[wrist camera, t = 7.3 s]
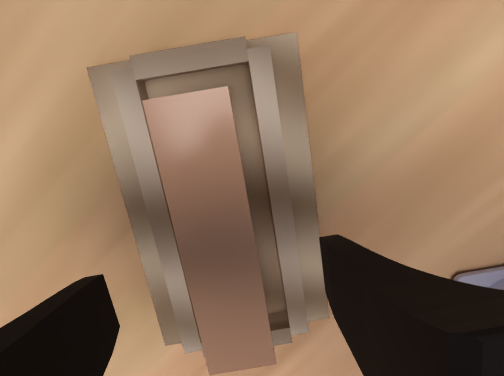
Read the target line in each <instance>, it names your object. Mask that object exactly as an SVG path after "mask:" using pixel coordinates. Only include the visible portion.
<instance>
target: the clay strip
mask: <svg viewBox="0 0 504 376" xmlns="http://www.w3.org/2000/svg"><path fill="white" fill-rule="evenodd" d="M142 102H143V106H144V110H145V114H146V118H147V122H148V126H149V130H150V135H151V139H152V143H153V147H154V151H155V155H156V159H157V163H158V167H159V171H160V175H161V179H162V183H163V187H164V191H165V196H166V200H167V204H168V208H169V212H170V216H171V220H172V224H173V228H174V232H175V236H176V240H177V244H178V248H179V252H180V257H181V261H182V265H183V269H184V273H185V277H186V281H187V285H188V289H189V293H190V297H191V301H192V305H193V309H194V313H195V318H196V322H197V326H198V330H199V334H200V338H201V342H202V346H203V350H204V354H205V358H206V362H207V366H208V370H209V374H210V375H214V374H220V373H226V372H232V371H238V370H244V369H250V368H256V367H262V366H268V365H273V364H276V359H275V352H274V346H273V339H272V332H271V326H270V319H269V312H268V305H267V299H266V293H265V287H264V281H263V276H262V270H261V264H260V258H259V252H258V247H257V241H256V235H255V229H254V223H253V218H252V212H251V206H250V200H249V195H248V189H247V183H246V177H245V171H244V166H243V160H242V154H241V148H240V142H239V137H238V131H237V125H236V119H235V113H234V108H233V102H232V96H231V90H230V86H225V87H219V88H213V89H207V90H201V91H195V92H189V93H183V94H178V95H172V96H166V97H160V98H154V99H148V100H142Z"/></svg>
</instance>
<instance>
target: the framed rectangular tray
mask: <svg viewBox="0 0 504 376" xmlns="http://www.w3.org/2000/svg"><path fill="white" fill-rule="evenodd" d="M130 59H131V60H129V61H123V62H117V63H111V64H105V65H99V66H93V67H87V71H88V75H89V78H90V82H91V85H92V89H93V92H94V96H95V99H96V103H97V106H98V110H99V113H100V117H101V120H102V124H103V127H104V131H105V135H106V138H107V142H108V145H109V149H110V152H111V156H112V159H113V163H114V166H115V170H116V173H117V177H118V180H119V184H120V187H121V191H122V195H123V198H124V202H125V205H126V209H127V212H128V216H129V219H130V223H131V226H132V230H133V233H134V237H135V240H136V244H137V247H138V251H139V254H140V258H141V262H142V265H143V269H144V272H145V276H146V279H147V283H148V286H149V290H150V293H151V297H152V300H153V304H154V307H155V311H156V314H157V318H158V322H159V325H160V329H161V332H162V336H163V339H164V343H165V346H166V345H172V344H178V343H182V345H183V349H184V353H189V352H195V351H201V350H202V351H203V355H204V357H205V354H204V350H203V346H202V342H201V338H200V334H199V330H198V326H197V322H196V318H195V313H194V309H193V305H192V301H191V297H190V293H189V289H188V285H187V281H186V277H185V273H184V269H183V265H182V261H181V257H180V252H179V248H178V244H177V240H176V236H175V232H174V228H173V224H172V220H171V216H170V212H169V208H168V204H167V200H166V196H165V191H164V187H163V183H162V179H161V175H160V171H159V167H158V163H157V159H156V155H155V151H154V147H153V143H152V139H151V135H150V130H149V126H148V122H147V118H146V114H145V110H144V106H143V102H142V100H148V99H154V98H160V97H166V96H172V95H178V94H183V93H189V92H195V91H201V90H207V89H213V88H219V87H225V86H230V90H231V96H232V102H233V108H234V113H235V119H236V125H237V131H238V137H239V142H240V148H241V154H242V160H243V166H244V171H245V177H246V183H247V189H248V195H249V200H250V206H251V212H252V218H253V223H254V229H255V235H256V241H257V247H258V252H259V258H260V264H261V270H262V276H263V281H264V287H265V293H266V299H267V305H268V312H269V319H270V326H271V332H272V339H273V346H275V345H281V344H287V343H292V337H291V335H296V334H302V333H308V332H309V329H308V321H314V320H320V319H326V318H329V311H328V302H327V295H326V292H325V285H324V276H323V268H322V259H321V250H320V242H319V237H320V232H319V223H318V214H317V206H316V197H315V188H314V179H313V171H312V162H311V153H310V144H309V135H308V127H307V118H306V109H305V100H304V92H303V83H302V74H301V65H300V57H299V48H298V39H297V32H295V33H289V34H283V35H277V36H271V37H265V38H259V39H253V40H247V41H246V39H245V37H239V38H233V39H227V40H221V41H215V42H209V43H203V44H197V45H191V46H185V47H179V48H173V49H168V50H162V51H156V52H150V53H144V54H138V55H132V56H130Z"/></svg>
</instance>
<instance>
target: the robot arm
mask: <svg viewBox="0 0 504 376" xmlns="http://www.w3.org/2000/svg"><path fill="white" fill-rule="evenodd" d="M319 242H320V250H321V259H322V268H323V276H324V285H325V292H326V295H327V298H328V301H329V304H330V307H331V309H332V312H333V315H334V318H335V320H336V322H337V324H338V326H339V328H340V330H341V332H342V334H343V336H344V338H345V340H346V342H347V344H348V346H349V348H350V350H351V352H352V354H353V356H354V358H355V360H356V362H357V364H358V366H359V368H360V370H361V371H362V373H363V375H364V376H504V266H502V267H496V268H490V269H484V270H478V271H472V272H466V273H461V274H458V275H457V276H455V278H454V279H453V280H450V279H447V278H443V277H439V276H436V275H432V274H429V273H426V272H423V271H420V270H416V269H414V268H411V267H408V266H405V265H403V264H400V263H398V262H395V261H393V260H390V259H388V258H386V257H384V256H381V255H379V254H377V253H375V252H373V251H371V250H369V249H366V248H364V247H362V246H360V245H359V244H357V243H355V242H353V241H351V240H349V239H347V238H345V237H343V236H340V235H338V234H337V235H331V236H325V237H319ZM119 328H120V325H119V322H118V319H117V316H116V313H115V310H114V306H113V303H112V300H111V297H110V294H109V291H108V288H107V285H106V282H105V279H104V276H103V274H101V275H95V276H89V277H84V278H82V279H80V280H78V281H76V282H74V283H72V284H71V285H69V286H67V287H66V288H64V289H62V290H61V291H59V292H57V293H56V294H54V295H53V296H51V297H50V298H48V299H46V300H45V301H43V302H42V303H40V304H39V305H37V306H35V307H34V308H32V309H31V310H29V311H28V312H26V313H24V314H23V315H21V316H19V317H18V318H16V319H14V320H13V321H11V322H10V323H8V324H6V325H5V326H3V327H1V328H0V376H103V375H104V372H105V370H106V368H107V365H108V363H109V361H110V358H111V356H112V353H113V350H114V346H115V343H116V339H117V335H118V332H119Z"/></svg>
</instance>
